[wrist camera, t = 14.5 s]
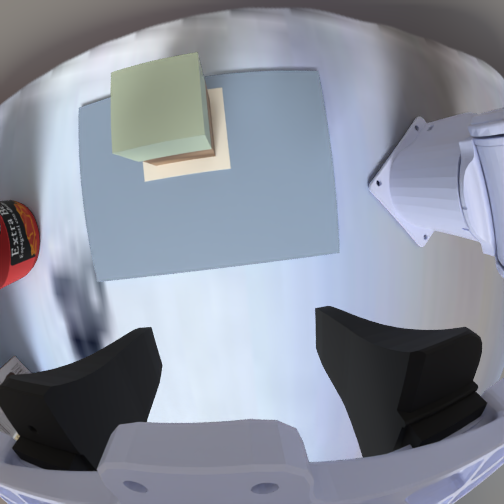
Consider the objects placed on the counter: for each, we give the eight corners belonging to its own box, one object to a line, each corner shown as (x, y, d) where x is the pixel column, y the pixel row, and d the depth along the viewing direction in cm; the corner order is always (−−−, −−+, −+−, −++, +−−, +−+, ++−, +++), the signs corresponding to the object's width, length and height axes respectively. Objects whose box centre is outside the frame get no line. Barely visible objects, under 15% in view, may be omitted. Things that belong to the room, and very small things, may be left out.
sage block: (204, 81, 14) (197, 52, 10) (211, 148, 15) (204, 134, 11) (135, 95, 14) (111, 72, 10) (138, 161, 15) (112, 153, 11)
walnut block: (209, 100, 18) (204, 79, 14) (215, 156, 19) (211, 146, 15) (151, 110, 18) (135, 93, 14) (155, 165, 19) (138, 159, 15)
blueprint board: (316, 72, 19) (318, 70, 18) (337, 251, 22) (339, 253, 21) (81, 109, 18) (78, 107, 17) (99, 280, 21) (96, 282, 20)
